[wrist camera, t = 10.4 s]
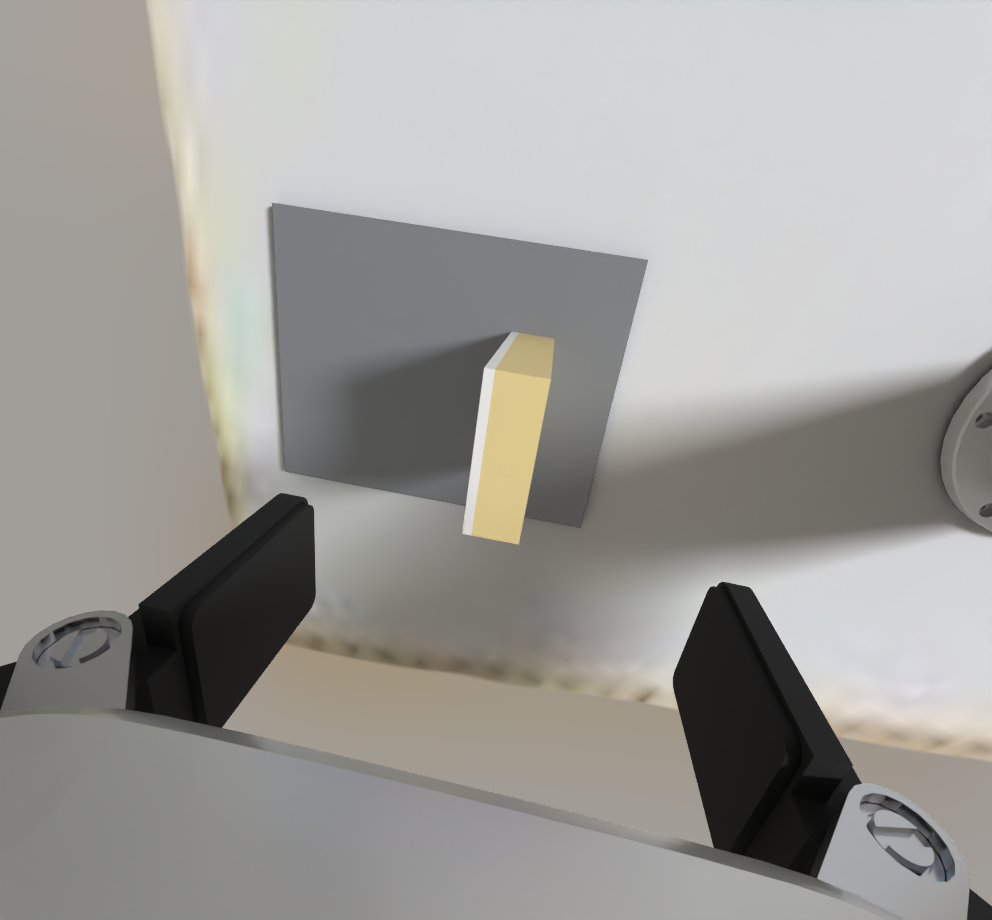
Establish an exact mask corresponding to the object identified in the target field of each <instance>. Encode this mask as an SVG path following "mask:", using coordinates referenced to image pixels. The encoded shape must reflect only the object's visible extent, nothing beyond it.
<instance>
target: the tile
mask: <svg viewBox="0 0 992 920" xmlns="http://www.w3.org/2000/svg"><path fill="white" fill-rule="evenodd" d="M553 350H554V339H553V338H547V337H541V336H535V335H529V334H523V333H517V332H511V333H510V334H509V336H508V337H507V338H506V340H505V341H504V342H503V344H502V345H501V346H500V348H499V349H498V350H497V352H496V353H495V354H494V356H493V357H492V358H491V360H490V361H489V362H488V363H487V365H486V366H485V367H484V373H483V380H482V388H481V395H480V403H479V410H478V418H477V425H476V433H475V440H474V448H473V455H472V463H471V470H470V478H469V485H468V493H467V500H466V508H465V515H464V523H463V530H462V534H467V535H472V536H477V537H482V538H487V539H492V540H497V541H502V542H507V543H513V544H518V545H519V541H520V536H521V531H522V526H523V521H524V516H525V510H526V505H527V500H528V495H529V490H530V485H531V480H532V474H533V469H534V464H535V459H536V454H537V449H538V444H539V438H540V433H541V428H542V423H543V418H544V413H545V408H546V402H547V397H548V392H549V387H550V382H551V373H552V362H553Z"/></svg>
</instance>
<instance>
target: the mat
mask: <svg viewBox="0 0 992 920" xmlns="http://www.w3.org/2000/svg"><path fill="white" fill-rule="evenodd" d="M272 214H273V235H274V255H275V276H276V296H277V316H278V337H279V357H280V378H281V398H282V419H283V439H284V460H285V472H290V473H295V474H300V475H306V476H311V477H316V478H321V479H327V480H332V481H337V482H342V483H348V484H353V485H358V486H363V487H369V488H374V489H379V490H385V491H390V492H395V493H400V494H406V495H411V496H416V497H421V498H427V499H432V500H437V501H442V502H448V503H453V504H458V505H463V506H466V500H467V493H468V485H469V478H470V470H471V463H472V455H473V448H474V440H475V433H476V425H477V418H478V410H479V403H480V395H481V388H482V380H483V373H484V367H485V366H486V365H487V363H488V362H489V361H490V360H491V358H492V357H493V356H494V354H495V353H496V352H497V350H498V349H499V348H500V346H501V345H502V344H503V342H504V341H505V340H506V338H507V337H508V336H509V334H510V333H511V332H517V333H523V334H529V335H535V336H541V337H547V338H553V339H554V350H553V362H552V373H551V382H550V387H549V392H548V397H547V402H546V408H545V413H544V418H543V423H542V428H541V433H540V438H539V444H538V449H537V454H536V459H535V464H534V469H533V474H532V480H531V485H530V490H529V495H528V500H527V505H526V510H525V516H524V517H526V518H532V519H537V520H542V521H547V522H553V523H558V524H563V525H568V526H574V527H579V528H580V527H581V523H582V519H583V515H584V511H585V507H586V503H587V499H588V496H589V492H590V488H591V484H592V480H593V476H594V472H595V468H596V464H597V460H598V456H599V452H600V448H601V444H602V440H603V436H604V432H605V428H606V424H607V420H608V416H609V412H610V408H611V404H612V401H613V397H614V393H615V389H616V385H617V381H618V377H619V373H620V369H621V365H622V361H623V357H624V353H625V349H626V345H627V341H628V337H629V333H630V329H631V325H632V321H633V317H634V313H635V309H636V306H637V302H638V298H639V294H640V290H641V286H642V282H643V278H644V274H645V270H646V266H647V262H648V260H644V259H637V258H631V257H624V256H618V255H611V254H605V253H598V252H591V251H585V250H578V249H572V248H565V247H559V246H552V245H545V244H539V243H532V242H526V241H519V240H513V239H506V238H499V237H493V236H486V235H480V234H473V233H467V232H460V231H453V230H447V229H440V228H434V227H427V226H421V225H414V224H407V223H401V222H394V221H388V220H381V219H375V218H368V217H361V216H355V215H348V214H342V213H335V212H329V211H322V210H315V209H309V208H302V207H296V206H289V205H283V204H276V203H272Z"/></svg>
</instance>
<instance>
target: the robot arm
mask: <svg viewBox="0 0 992 920" xmlns="http://www.w3.org/2000/svg"><path fill="white" fill-rule="evenodd" d="M940 460H941V474H942V480H943V483H944V485H945V488H946V491H947V494H948V496H949V497H950V498H951V500H952V501H953V503H954V504H955V505H956V507H957V508H958V509H959V510H960V511H961V512H962V513H964V514H965V515H966V516H967V517H968V518H970V519H971V520H972V521H974V522H976V523H977V524H979V525H981V526H982V527H984V528H986V529H987V530H989V531H991V532H992V369H991V370H990V371H989V372H988V373H987V374H985V375H984V376H983V378H982V379H981V380H980V381H979V382H978V383H977V384H976V386H975V387H974V388H973V389H972V390H971V391H970V392H969V394H968V395H967V396H966V397H965V399H964V400H963V402H962V403H961V405H960V407H959V408H958V410H957V411H956V413H955V415H954V416H953V418H952V420H951V423H950V425H949V428H948V430H947V433H946V435H945V438H944V441H943V447H942V453H941V459H940ZM315 594H316V588H315V540H314V509H313V506H311V505H308V502H307V499H305V498H304V497H299V496H294V495H289V494H284V493H280V494H278V495H277V496H275V497H274V498H273V499H272V500H270V501H269V502H268V503H267V504H265V505H264V506H263V507H261V508H260V509H259V510H258V511H256V512H255V513H254V514H253V515H251V516H250V517H249V518H248V519H246V520H245V521H244V522H242V523H241V524H240V525H239V526H237V527H236V528H235V529H234V530H232V531H231V532H230V533H229V534H227V535H226V536H225V537H224V538H222V539H221V540H220V541H219V542H217V543H216V544H215V545H213V546H212V547H211V548H209V549H208V550H207V551H206V552H205V553H203V554H202V555H201V556H200V557H198V558H197V559H196V560H194V561H193V562H192V563H191V564H189V565H188V566H187V567H185V568H184V569H183V570H182V571H180V572H179V573H178V574H177V575H175V576H174V577H173V578H171V580H169V581H168V582H166V583H165V584H164V585H163V586H161V587H160V588H159V589H158V590H156V591H155V592H154V593H152V594H151V595H150V596H149V597H147V598H146V599H145V600H144V601H142V602H141V603H140V604H139V609H138V610H137V611H135V612H134V613H133V614H132V615H130V616H129V617H127V616H126V615H124V614H121V613H118V612H114V611H95V612H88V613H83V614H79V615H76V616H73V617H69V618H66V619H64V620H62V621H60V622H57V623H55V624H53V625H51V626H49V627H48V628H46V629H44V630H43V631H41V632H40V633H38V634H37V635H36V636H34V637H33V638H32V639H31V640H30V641H29V642H28V643H27V644H26V645H25V647H24V648H23V650H22V652H21V653H20V655H19V657H18V660H17V662H14V663H11V664H7V665H4V666H0V920H992V906H991V905H989V904H988V903H987V902H986V901H984V900H983V899H982V898H981V897H979V896H978V895H977V894H976V893H974V892H973V891H972V890H971V889H970V879H969V872H968V867H967V865H966V863H965V861H964V859H963V857H962V855H961V853H960V851H959V849H958V848H957V846H956V845H955V844H954V842H953V841H952V840H951V838H950V837H949V836H948V834H947V833H946V832H945V831H944V830H943V829H942V828H941V827H940V826H939V825H938V824H937V823H936V822H935V821H934V820H933V819H932V818H931V817H930V816H929V815H928V814H927V813H926V812H924V811H923V810H922V809H920V808H919V807H918V806H917V805H916V804H914V803H913V802H911V801H910V800H908V799H906V798H905V797H903V796H902V795H900V794H898V793H896V792H895V791H892V790H890V789H887V788H885V787H882V786H880V785H876V784H869V783H863V784H862V783H861V781H860V780H859V778H858V777H857V775H856V773H855V771H854V769H853V768H852V766H853V765H852V763H851V761H850V759H849V758H848V756H847V754H846V753H845V751H844V749H843V747H842V745H841V744H840V742H839V740H838V739H837V737H836V735H835V733H834V732H833V730H832V728H831V726H830V725H829V723H828V721H827V719H826V718H825V716H824V714H823V712H822V711H821V709H820V707H819V705H818V704H817V702H816V700H815V699H814V697H813V695H812V693H811V692H810V690H809V688H808V686H807V685H806V683H805V681H804V679H803V678H802V676H801V674H800V672H799V671H798V669H797V667H796V665H795V664H794V662H793V660H792V659H791V657H790V655H789V653H788V652H787V650H786V648H785V646H784V645H783V643H782V641H781V639H780V638H779V636H778V634H777V632H776V631H775V629H774V627H773V626H772V624H771V622H770V620H769V619H768V617H767V615H766V613H765V612H764V610H763V608H762V606H761V605H760V603H759V601H758V599H757V598H756V596H755V594H754V592H753V591H752V590H751V588H749V587H746V586H741V585H736V584H731V583H726V582H721V583H719V584H718V586H717V587H710V588H709V590H708V592H707V594H706V597H705V599H704V601H703V604H702V606H701V609H700V611H699V613H698V616H697V618H696V621H695V623H694V626H693V628H692V630H691V633H690V635H689V638H688V640H687V642H686V645H685V647H684V650H683V652H682V655H681V657H680V659H679V662H678V664H677V667H676V669H675V672H674V676H673V688H674V693H675V697H676V701H677V705H678V708H679V712H680V716H681V720H682V724H683V728H684V732H685V736H686V740H687V744H688V748H689V752H690V756H691V759H692V764H693V767H694V771H695V775H696V779H697V783H698V787H699V791H700V795H701V799H702V803H703V807H704V810H705V815H706V819H707V822H708V827H709V830H710V834H711V838H712V842H713V846H714V848H712V847H708V846H704V845H700V844H697V843H693V842H689V841H686V840H682V839H678V838H675V837H671V836H667V835H663V834H659V833H655V832H651V831H647V830H642V829H639V828H634V827H631V826H627V825H622V824H619V823H614V822H611V821H607V820H602V819H599V818H594V817H591V816H586V815H582V814H578V813H574V812H570V811H566V810H562V809H558V808H554V807H550V806H546V805H542V804H538V803H534V802H530V801H526V800H522V799H518V798H514V797H510V796H505V795H501V794H497V793H493V792H489V791H485V790H481V789H477V788H473V787H469V786H464V785H460V784H456V783H452V782H448V781H444V780H440V779H436V778H431V777H427V776H423V775H419V774H415V773H410V772H407V771H402V770H398V769H394V768H390V767H386V766H382V765H378V764H373V763H369V762H365V761H361V760H357V759H352V758H348V757H344V756H340V755H335V754H331V753H327V752H323V751H318V750H314V749H310V748H306V747H302V746H297V745H293V744H289V743H285V742H280V741H276V740H272V739H268V738H263V737H259V736H255V735H251V734H247V733H242V732H237V731H232V730H228V729H223V728H222V727H223V725H224V724H225V723H226V721H227V720H228V719H229V717H230V716H231V715H232V713H233V712H234V711H235V709H236V708H237V707H238V705H239V704H240V703H241V701H242V700H243V699H244V697H245V696H246V695H247V693H248V692H249V691H250V689H251V688H252V687H253V685H254V684H255V683H256V681H257V680H258V678H259V677H260V676H261V675H262V673H263V672H264V671H265V669H266V668H267V667H268V665H269V664H270V663H271V661H272V660H273V659H274V657H275V656H276V654H277V653H278V652H279V650H280V649H281V648H282V647H283V645H284V644H285V643H286V641H287V640H288V639H289V637H290V636H291V635H292V633H293V632H294V631H295V629H296V628H297V627H298V625H299V624H300V623H301V621H302V620H303V619H304V617H305V616H306V615H307V613H308V612H309V610H310V609H311V607H312V605H313V603H314V600H315Z"/></svg>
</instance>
